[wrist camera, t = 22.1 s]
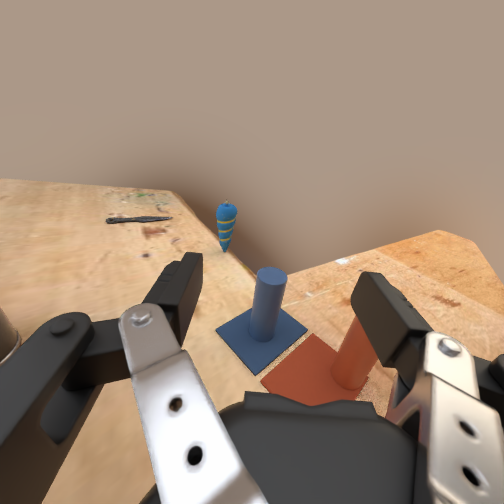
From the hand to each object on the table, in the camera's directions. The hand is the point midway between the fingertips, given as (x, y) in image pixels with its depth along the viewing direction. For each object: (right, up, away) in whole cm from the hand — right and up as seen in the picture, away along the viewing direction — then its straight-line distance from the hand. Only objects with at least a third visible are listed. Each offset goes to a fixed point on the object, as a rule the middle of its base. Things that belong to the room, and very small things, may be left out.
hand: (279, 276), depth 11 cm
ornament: (-9, +1, +49) cm, 50 cm away
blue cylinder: (0, -12, +26) cm, 29 cm away
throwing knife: (-38, +12, +61) cm, 73 cm away
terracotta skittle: (+13, -17, +21) cm, 30 cm away
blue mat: (0, -13, +27) cm, 30 cm away
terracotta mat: (+8, -17, +20) cm, 28 cm away
